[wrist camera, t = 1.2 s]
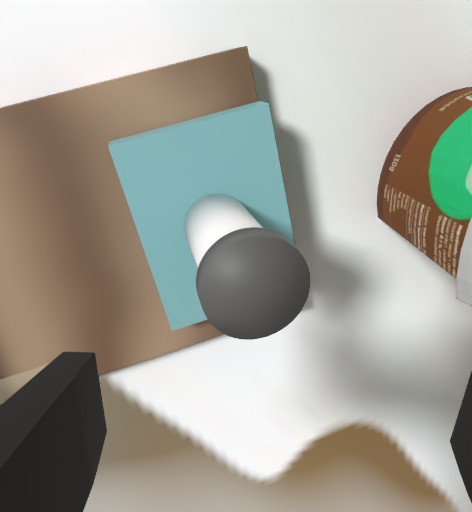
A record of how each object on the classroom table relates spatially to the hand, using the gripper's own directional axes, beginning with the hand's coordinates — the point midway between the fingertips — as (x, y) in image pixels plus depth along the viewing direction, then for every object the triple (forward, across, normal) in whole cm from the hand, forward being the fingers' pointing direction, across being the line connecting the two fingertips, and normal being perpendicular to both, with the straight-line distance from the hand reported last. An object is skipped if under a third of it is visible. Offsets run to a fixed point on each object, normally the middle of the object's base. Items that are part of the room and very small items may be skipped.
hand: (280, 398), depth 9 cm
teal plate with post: (+11, +2, 0) cm, 11 cm away
